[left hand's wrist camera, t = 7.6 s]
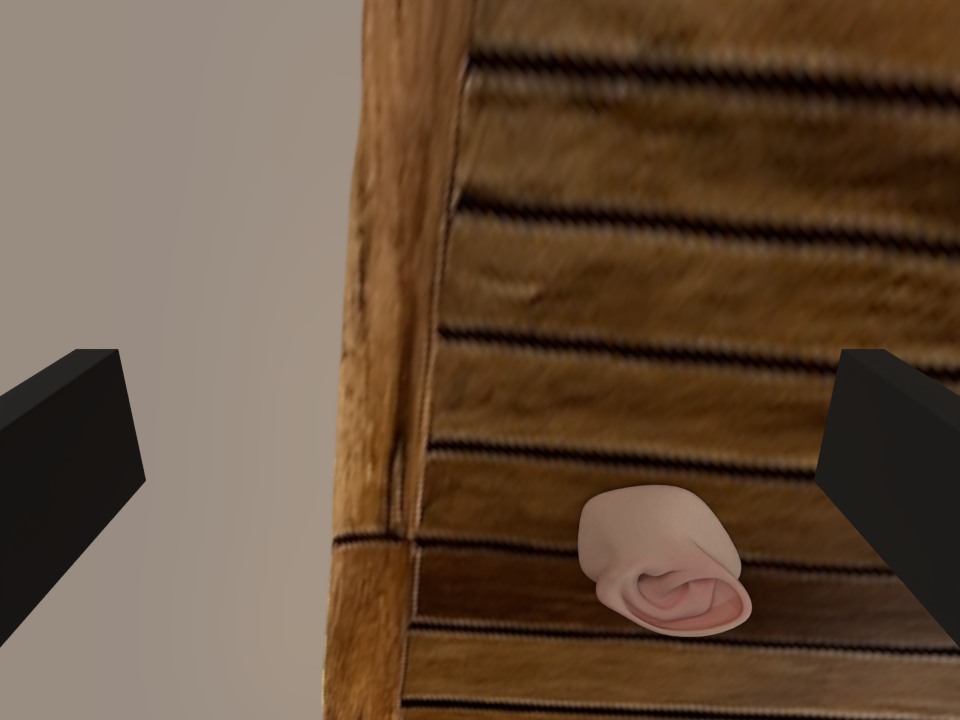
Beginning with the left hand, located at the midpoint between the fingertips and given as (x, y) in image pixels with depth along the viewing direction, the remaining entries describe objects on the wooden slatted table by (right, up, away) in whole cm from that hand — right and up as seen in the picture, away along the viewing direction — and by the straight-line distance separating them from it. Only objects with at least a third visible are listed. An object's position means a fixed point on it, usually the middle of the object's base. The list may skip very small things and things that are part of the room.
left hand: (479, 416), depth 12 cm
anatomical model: (+14, -14, +40) cm, 44 cm away
